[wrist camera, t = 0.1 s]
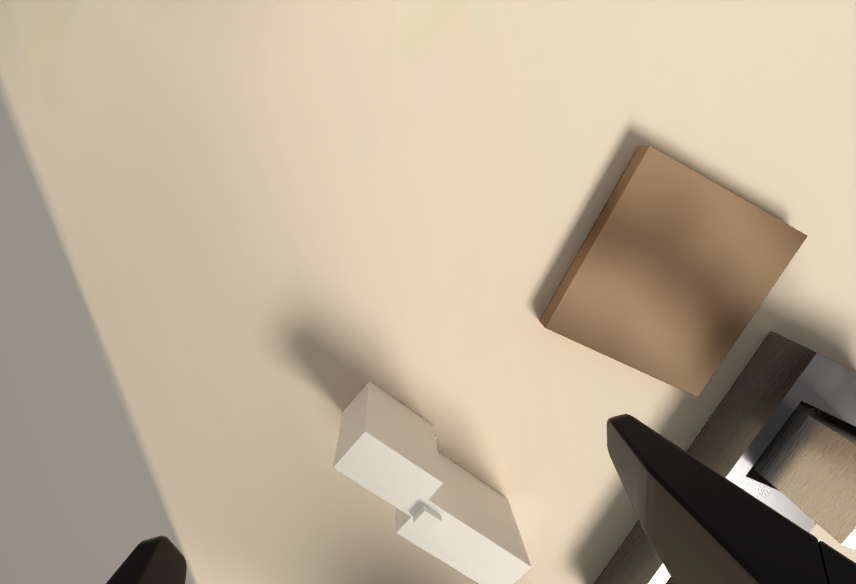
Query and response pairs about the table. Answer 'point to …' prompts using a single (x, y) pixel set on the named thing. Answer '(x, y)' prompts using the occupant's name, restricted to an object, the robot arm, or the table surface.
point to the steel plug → (815, 471)
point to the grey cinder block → (752, 438)
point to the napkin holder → (428, 490)
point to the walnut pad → (670, 272)
